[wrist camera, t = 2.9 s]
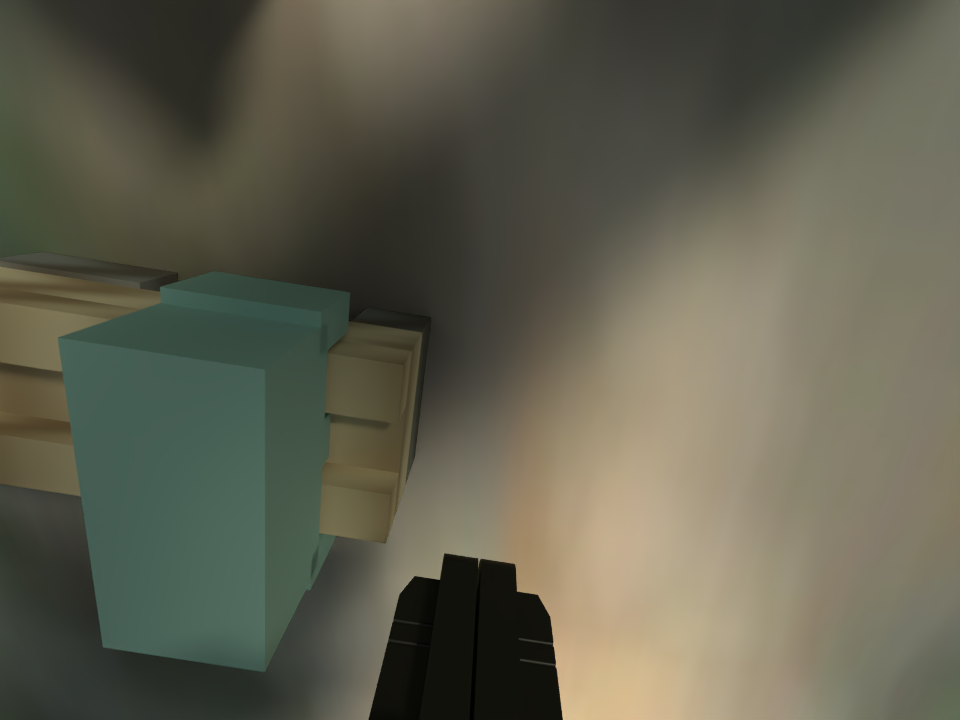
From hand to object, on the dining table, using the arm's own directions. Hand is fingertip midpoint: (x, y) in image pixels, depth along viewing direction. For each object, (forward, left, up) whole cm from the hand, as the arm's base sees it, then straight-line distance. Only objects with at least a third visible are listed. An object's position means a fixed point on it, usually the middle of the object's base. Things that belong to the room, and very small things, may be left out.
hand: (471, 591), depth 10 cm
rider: (+7, 0, -6) cm, 9 cm away
